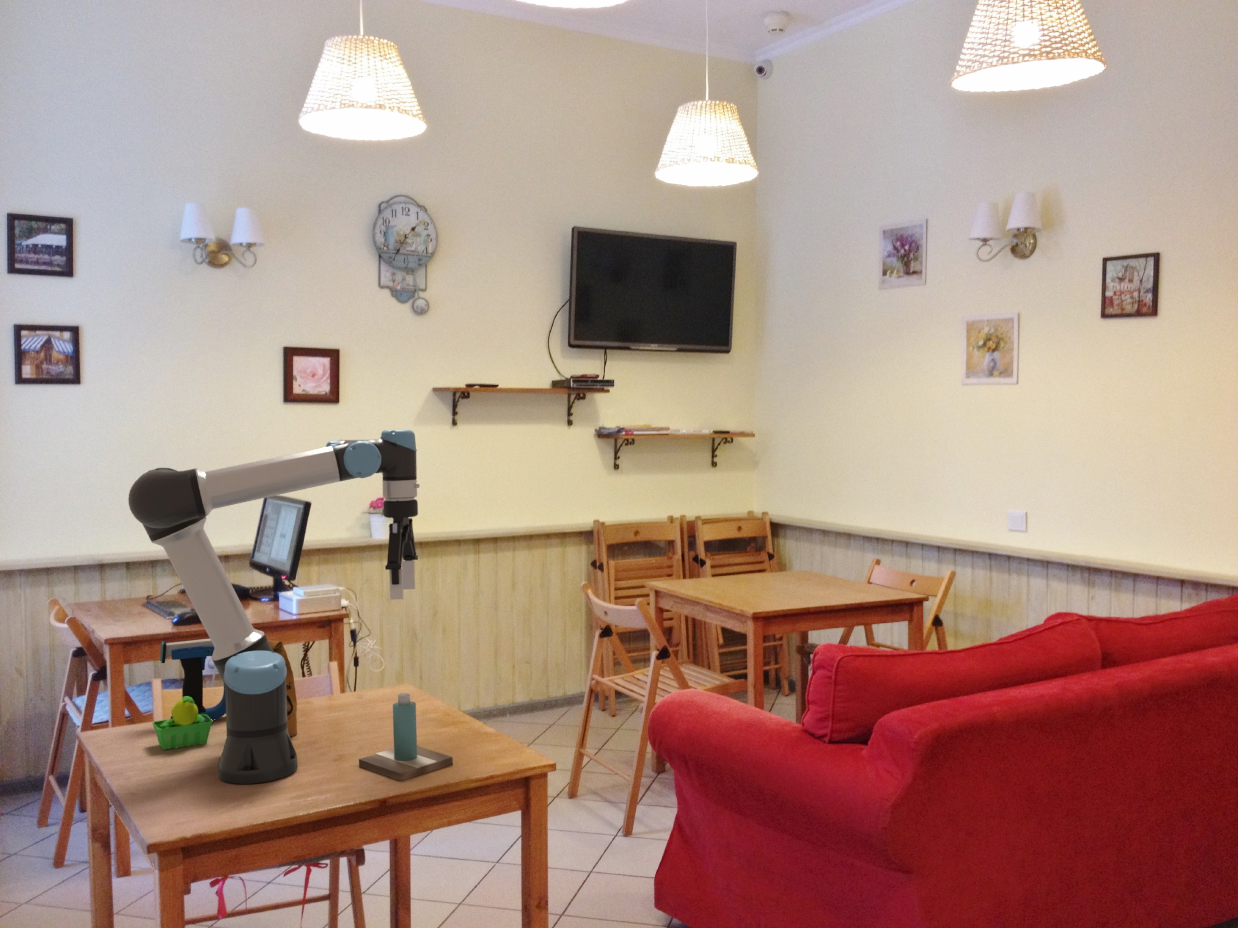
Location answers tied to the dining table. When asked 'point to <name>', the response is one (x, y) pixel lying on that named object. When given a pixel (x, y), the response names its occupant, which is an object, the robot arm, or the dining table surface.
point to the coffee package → (288, 689)
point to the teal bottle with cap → (404, 728)
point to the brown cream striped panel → (405, 763)
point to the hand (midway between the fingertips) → (403, 594)
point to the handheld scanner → (194, 671)
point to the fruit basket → (183, 726)
